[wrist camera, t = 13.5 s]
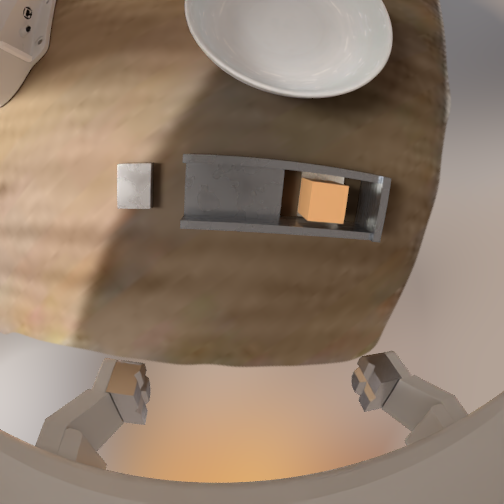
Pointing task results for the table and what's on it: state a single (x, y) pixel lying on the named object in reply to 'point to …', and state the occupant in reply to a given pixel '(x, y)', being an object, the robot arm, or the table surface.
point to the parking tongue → (135, 185)
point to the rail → (272, 197)
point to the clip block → (323, 200)
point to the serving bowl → (294, 42)
